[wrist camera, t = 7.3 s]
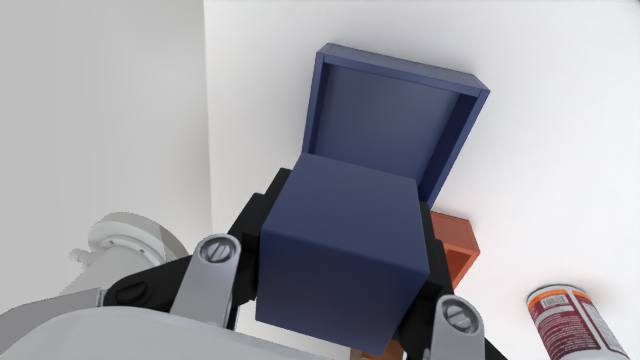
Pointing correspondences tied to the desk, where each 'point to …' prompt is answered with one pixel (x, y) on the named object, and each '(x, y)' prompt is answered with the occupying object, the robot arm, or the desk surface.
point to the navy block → (341, 254)
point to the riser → (390, 356)
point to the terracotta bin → (456, 244)
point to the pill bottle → (572, 326)
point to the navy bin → (391, 115)
